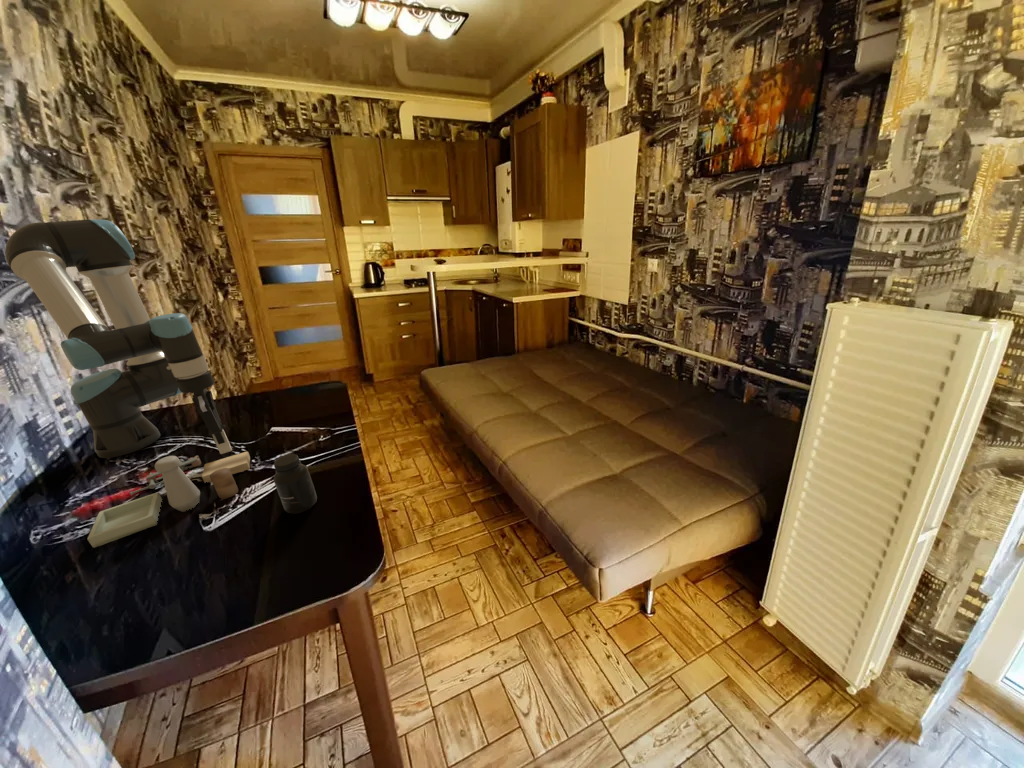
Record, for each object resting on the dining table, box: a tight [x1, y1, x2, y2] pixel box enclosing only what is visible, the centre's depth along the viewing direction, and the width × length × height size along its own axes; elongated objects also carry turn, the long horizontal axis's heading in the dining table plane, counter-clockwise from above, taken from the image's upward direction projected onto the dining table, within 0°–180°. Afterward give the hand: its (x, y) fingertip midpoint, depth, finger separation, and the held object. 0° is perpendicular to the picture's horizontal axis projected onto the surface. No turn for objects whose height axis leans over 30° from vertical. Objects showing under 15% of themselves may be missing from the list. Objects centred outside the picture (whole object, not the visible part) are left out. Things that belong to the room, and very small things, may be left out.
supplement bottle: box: [273, 453, 318, 515], centre depth 89 cm, size 7×7×12 cm
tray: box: [87, 491, 163, 549], centre depth 90 cm, size 11×11×2 cm
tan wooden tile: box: [201, 451, 251, 484], centre depth 108 cm, size 7×10×2 cm
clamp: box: [129, 454, 202, 496], centre depth 108 cm, size 15×2×10 cm
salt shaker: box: [154, 455, 201, 513], centre depth 92 cm, size 6×6×13 cm
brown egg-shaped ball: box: [210, 468, 239, 500], centre depth 96 cm, size 4×4×6 cm
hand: (226, 451), depth 114 cm, fingers closed
